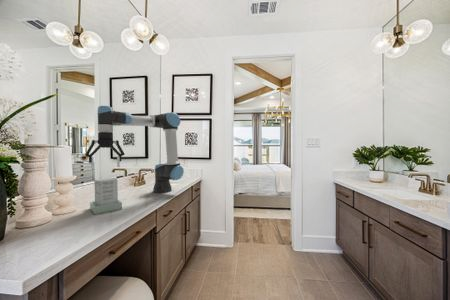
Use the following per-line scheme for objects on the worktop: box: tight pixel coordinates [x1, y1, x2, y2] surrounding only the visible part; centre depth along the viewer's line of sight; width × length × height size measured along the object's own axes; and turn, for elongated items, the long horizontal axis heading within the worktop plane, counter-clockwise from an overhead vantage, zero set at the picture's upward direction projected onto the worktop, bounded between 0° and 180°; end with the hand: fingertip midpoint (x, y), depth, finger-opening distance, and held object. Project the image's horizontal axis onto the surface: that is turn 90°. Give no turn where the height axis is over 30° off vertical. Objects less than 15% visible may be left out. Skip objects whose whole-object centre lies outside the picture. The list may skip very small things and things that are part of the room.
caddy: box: [89, 199, 123, 215], centre depth 119 cm, size 14×15×4 cm
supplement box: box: [93, 177, 119, 206], centre depth 120 cm, size 10×9×17 cm
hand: (105, 167), depth 120 cm, fingers open, 13 cm apart
